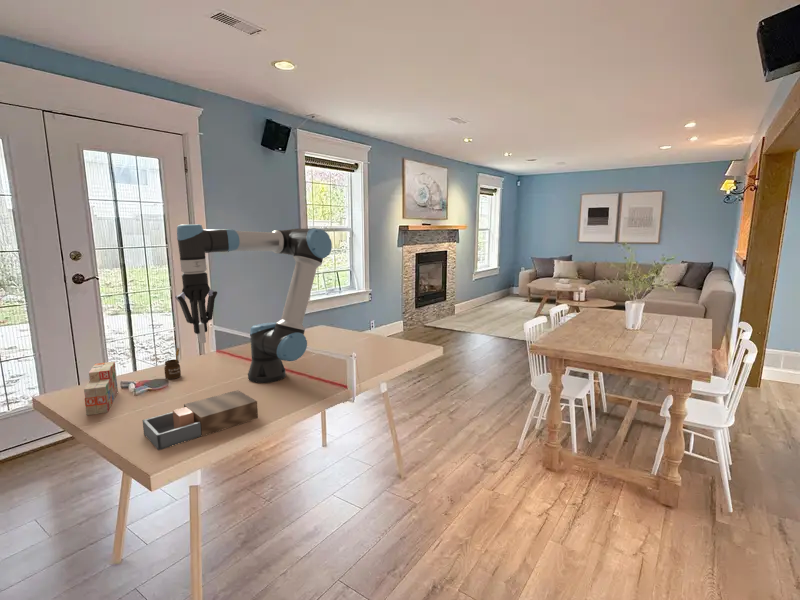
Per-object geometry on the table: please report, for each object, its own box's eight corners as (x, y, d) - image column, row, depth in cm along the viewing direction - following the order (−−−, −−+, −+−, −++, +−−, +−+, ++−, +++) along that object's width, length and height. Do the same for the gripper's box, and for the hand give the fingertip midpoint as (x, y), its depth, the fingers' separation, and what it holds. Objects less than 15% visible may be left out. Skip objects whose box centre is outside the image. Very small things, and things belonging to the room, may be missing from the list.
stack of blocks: (108, 412, 147) (104, 378, 145) (86, 416, 145) (81, 380, 143) (118, 391, 167) (114, 360, 165) (98, 394, 164) (95, 362, 162)
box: (184, 422, 140) (183, 408, 139) (201, 436, 130) (200, 422, 130) (143, 433, 132) (142, 420, 131) (158, 450, 122) (157, 435, 121)
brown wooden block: (239, 406, 153) (238, 390, 152) (258, 418, 143) (257, 401, 142) (185, 421, 140) (183, 404, 139) (202, 436, 130) (200, 417, 129)
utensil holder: (162, 377, 182) (159, 350, 180) (176, 373, 187) (174, 346, 185) (169, 380, 179) (167, 352, 177) (184, 376, 184) (182, 348, 182)
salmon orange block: (186, 406, 136) (172, 410, 133) (193, 412, 132) (179, 416, 129) (187, 424, 137) (174, 428, 134) (194, 430, 133) (180, 435, 130)
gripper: (177, 275, 134) (186, 348, 138) (219, 271, 143) (226, 339, 147) (168, 273, 139) (177, 344, 143) (209, 269, 148) (216, 336, 152)
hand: (202, 342), depth 145 cm, fingers closed
